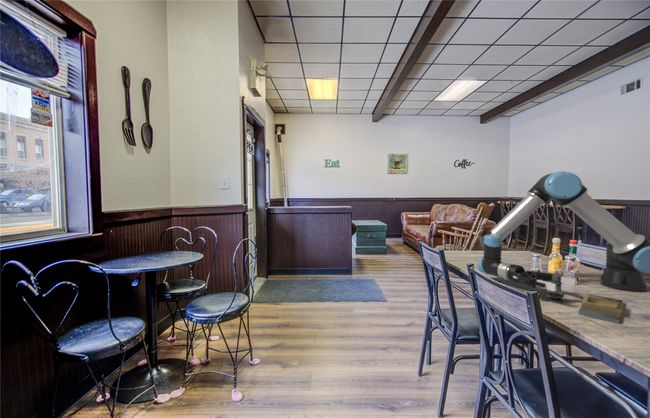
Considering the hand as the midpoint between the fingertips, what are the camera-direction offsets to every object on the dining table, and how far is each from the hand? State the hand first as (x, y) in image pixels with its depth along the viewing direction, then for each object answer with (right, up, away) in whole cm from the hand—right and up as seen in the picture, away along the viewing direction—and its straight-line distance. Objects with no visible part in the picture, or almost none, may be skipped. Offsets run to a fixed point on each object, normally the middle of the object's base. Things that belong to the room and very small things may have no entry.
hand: (565, 285), depth 112 cm
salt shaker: (-1, -7, +3) cm, 8 cm away
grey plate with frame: (+9, -7, -5) cm, 13 cm away
